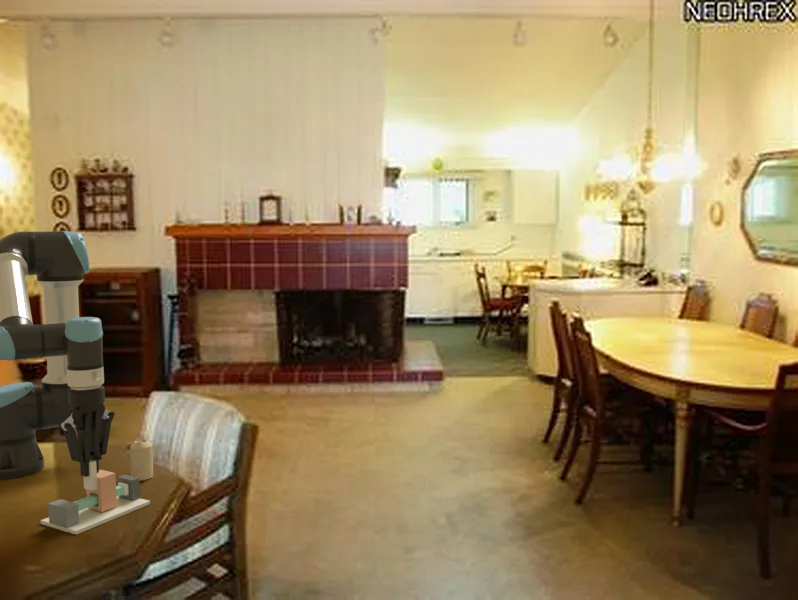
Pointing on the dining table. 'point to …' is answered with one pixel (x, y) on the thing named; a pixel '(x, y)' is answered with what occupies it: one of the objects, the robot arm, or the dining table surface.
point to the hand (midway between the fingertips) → (90, 488)
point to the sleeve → (104, 491)
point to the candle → (141, 459)
